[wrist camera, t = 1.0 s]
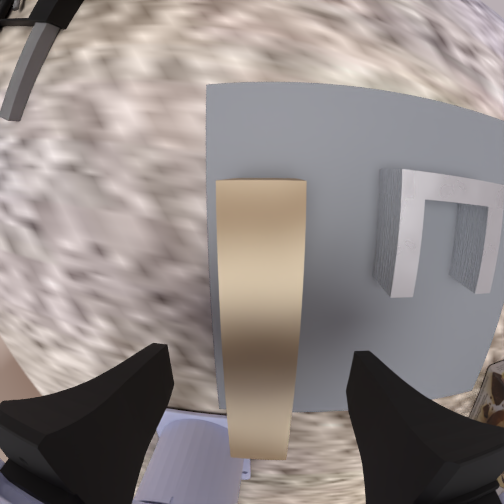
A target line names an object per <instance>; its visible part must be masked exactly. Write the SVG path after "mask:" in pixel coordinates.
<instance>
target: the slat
mask: <svg viewBox="0 0 504 504" xmlns="http://www.w3.org/2000/svg"><path fill="white" fill-rule="evenodd" d="M306 188H307V181H305V180H301V179H297V178H231V179H224V180H216V219H217V254H218V280H219V302H220V322H221V340H222V356H223V371H224V386H225V399H226V411H227V423H228V435H229V446H230V456H231V457H232V458H245V459H263V460H286V456H287V449H288V442H289V434H290V426H291V418H292V409H293V400H294V391H295V381H296V371H297V360H298V349H299V337H300V324H301V309H302V294H303V276H304V256H305V230H306Z"/></svg>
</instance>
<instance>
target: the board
mask: <svg viewBox="0 0 504 504" xmlns="http://www.w3.org/2000/svg"><path fill="white" fill-rule="evenodd" d="M379 169H407V170H415V171H423V172H431V173H438V174H445V175H452V176H458V177H464V178H470V179H476V180H481V181H486V182H492V183H497V184H501V185H504V121H502V120H499V119H497V118H494V117H491V116H488V115H485V114H482V113H479V112H475V111H472V110H469V109H465V108H462V107H458V106H455V105H451V104H447V103H443V102H439V101H435V100H431V99H426V98H422V97H417V96H412V95H407V94H401V93H396V92H390V91H384V90H377V89H370V88H362V87H354V86H344V85H333V84H320V83H301V82H242V83H222V84H209V85H206V195H207V231H208V257H209V278H210V297H211V313H212V328H213V342H214V355H215V368H216V379H217V390H218V401H219V409H226V399H225V386H224V371H223V356H222V340H221V322H220V302H219V280H218V254H217V219H216V180H224V179H231V178H297V179H301V180H305V181H307V188H306V230H305V256H304V276H303V294H302V309H301V324H300V337H299V349H298V360H297V371H296V381H295V391H294V400H293V409H292V412H326V411H344V410H348V404H347V396H346V388H347V383H348V379H349V374H350V370H351V365H352V360H353V355H354V351H367V350H369V351H370V352H372V353H373V354H374V355H375V356H376V357H377V358H379V359H380V360H381V361H382V362H383V363H384V364H385V365H386V366H387V367H389V368H390V369H391V370H392V371H393V372H394V373H395V374H397V375H398V376H399V377H400V378H401V379H403V380H404V381H405V382H406V383H408V384H409V385H410V386H412V387H413V388H414V389H416V390H417V391H418V392H420V393H421V394H423V395H424V396H426V397H427V398H429V399H431V400H432V399H437V398H442V397H447V396H451V395H456V394H460V393H464V392H468V391H472V389H473V387H474V384H475V382H476V380H477V378H478V375H479V373H480V371H481V368H482V366H483V363H484V361H485V358H486V356H487V353H488V350H489V348H490V345H491V342H492V339H493V336H494V333H495V330H496V327H497V324H498V321H499V317H500V314H501V311H502V307H503V303H504V209H503V220H502V229H501V237H500V244H499V250H498V256H497V262H496V267H495V272H494V277H493V282H492V286H491V291H490V293H484V294H474V293H473V292H471V291H470V290H469V289H467V288H466V287H464V286H463V285H462V284H460V283H459V282H457V281H456V280H455V279H453V278H452V277H450V276H449V271H450V265H451V259H452V253H453V246H454V238H455V229H456V220H457V208H458V203H455V202H446V201H436V200H426V199H425V207H424V220H423V230H422V240H421V248H420V256H419V263H418V270H417V276H416V282H415V288H414V294H413V297H402V298H390V297H389V296H388V294H387V293H386V292H385V291H384V290H383V288H382V287H381V286H380V285H379V284H378V282H377V281H376V280H375V279H374V278H373V277H372V272H373V263H374V254H375V244H376V232H377V218H378V200H379Z"/></svg>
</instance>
